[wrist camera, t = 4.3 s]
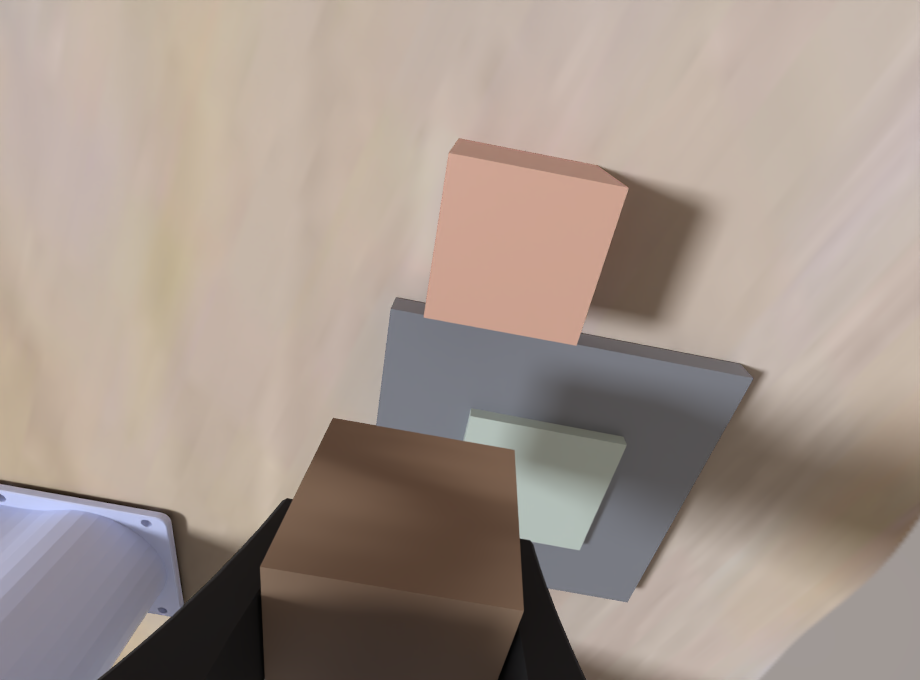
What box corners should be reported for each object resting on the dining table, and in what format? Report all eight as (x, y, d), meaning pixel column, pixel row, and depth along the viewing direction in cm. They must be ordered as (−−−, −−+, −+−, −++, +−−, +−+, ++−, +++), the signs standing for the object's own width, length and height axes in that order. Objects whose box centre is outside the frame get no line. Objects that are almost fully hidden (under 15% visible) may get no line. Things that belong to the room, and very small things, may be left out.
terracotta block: (438, 270, 17) (423, 317, 13) (459, 138, 15) (448, 152, 11) (559, 292, 17) (576, 345, 14) (596, 164, 15) (628, 187, 11)
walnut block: (326, 541, 13) (266, 703, 10) (332, 417, 11) (259, 566, 8) (480, 567, 14) (475, 738, 10) (514, 449, 11) (523, 610, 8)
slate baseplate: (365, 537, 23) (357, 564, 22) (396, 297, 17) (387, 314, 16) (622, 583, 24) (629, 612, 22) (740, 364, 18) (760, 386, 16)
